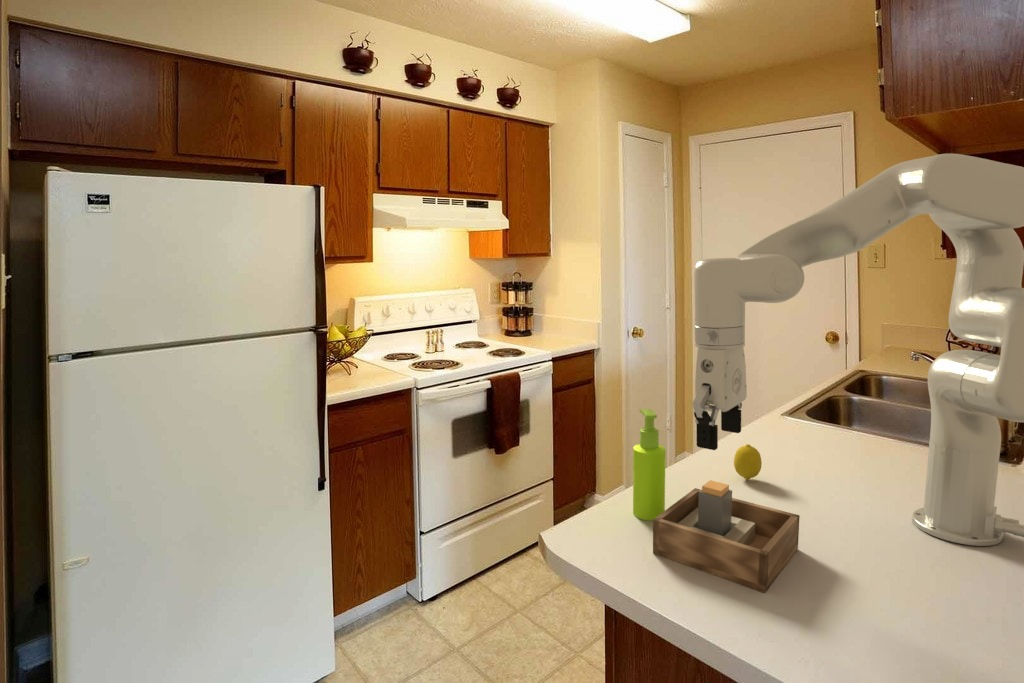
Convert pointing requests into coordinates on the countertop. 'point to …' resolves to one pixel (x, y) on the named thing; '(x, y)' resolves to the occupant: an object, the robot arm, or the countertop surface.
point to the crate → (729, 541)
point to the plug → (715, 508)
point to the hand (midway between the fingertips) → (719, 439)
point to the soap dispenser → (648, 471)
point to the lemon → (747, 462)
